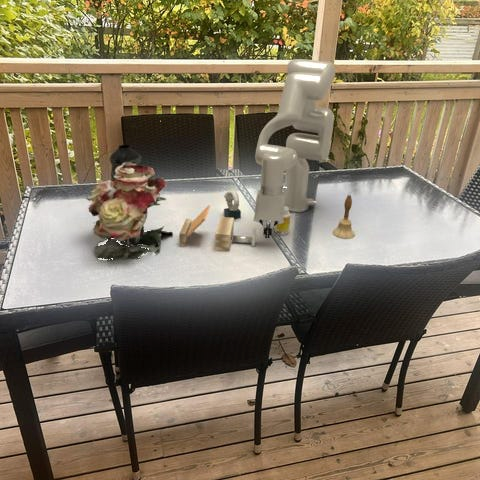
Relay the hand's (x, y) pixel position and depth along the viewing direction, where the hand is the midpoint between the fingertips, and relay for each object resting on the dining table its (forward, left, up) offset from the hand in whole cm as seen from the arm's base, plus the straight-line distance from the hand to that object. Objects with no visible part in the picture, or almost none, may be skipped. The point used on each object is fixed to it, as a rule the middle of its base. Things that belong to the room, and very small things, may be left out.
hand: (267, 236), depth 163 cm
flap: (+25, 0, +4) cm, 25 cm away
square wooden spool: (+22, 0, -4) cm, 22 cm away
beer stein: (+58, -24, -4) cm, 63 cm away
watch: (+15, -21, -4) cm, 26 cm away
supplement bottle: (-5, -11, -4) cm, 13 cm away
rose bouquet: (+48, +9, -4) cm, 49 cm away
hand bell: (-29, -14, -4) cm, 33 cm away
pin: (+8, 0, -3) cm, 9 cm away
